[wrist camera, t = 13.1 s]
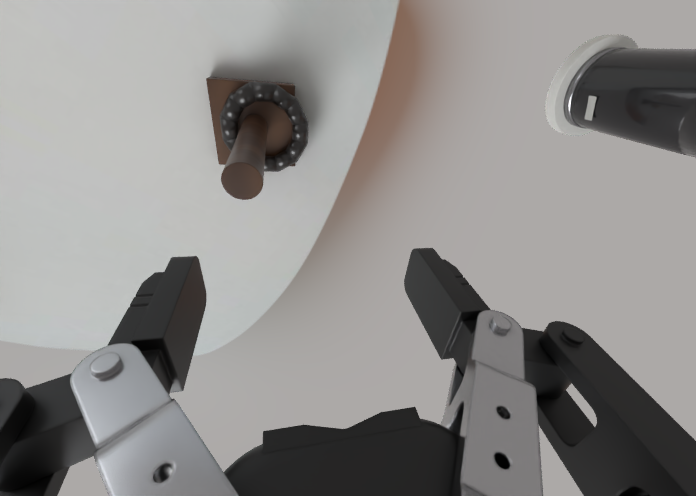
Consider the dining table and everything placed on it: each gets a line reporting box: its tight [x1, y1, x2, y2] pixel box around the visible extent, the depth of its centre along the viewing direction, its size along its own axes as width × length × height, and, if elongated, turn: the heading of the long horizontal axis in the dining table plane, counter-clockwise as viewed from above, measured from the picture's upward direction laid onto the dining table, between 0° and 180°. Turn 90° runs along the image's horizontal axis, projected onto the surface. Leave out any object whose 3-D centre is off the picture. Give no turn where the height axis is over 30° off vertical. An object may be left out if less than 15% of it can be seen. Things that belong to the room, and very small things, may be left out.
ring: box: [220, 82, 308, 172], centre depth 30 cm, size 8×8×2 cm
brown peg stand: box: [206, 77, 295, 200], centre depth 25 cm, size 8×8×16 cm
